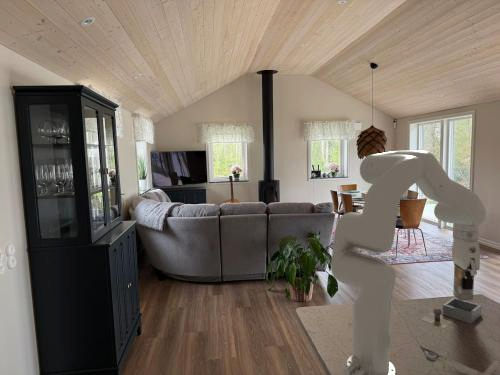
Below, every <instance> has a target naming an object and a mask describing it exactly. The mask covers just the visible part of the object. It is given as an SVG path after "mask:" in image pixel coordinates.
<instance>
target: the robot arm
mask: <svg viewBox="0 0 500 375" xmlns="http://www.w3.org/2000/svg"><path fill="white" fill-rule="evenodd" d="M359 175H360V177H361V179H362V181H365V182H366V183H367V184H372V185H370V187H369V188H368V190H367V191H366V194H365V197H364V202H363V203H364V204H363V208H362V212H354V211H350V212H349V211H348V212H346V213H345V214H343V215H342V216H341V217H340V218H339V220H337V223H336V226H335V228H334V238H333V245H332V253H331V261H330V262H331V264H330V267H331V270H330V271H331V273H332V276H333V278H334V279H335V280H336V281H338V282H340V283H342V284H345V285H347V286H349V287H352V288H354V289H357V290H358V291H359V292H360V294H359V296H358V297H357V298H356V299H355V300H354V303H353V306H352V355H351V356H349V357H348V359H346V360H347V361H346V366H345V367H344V368H343V374H344V375H396V368H395V366H394V364H393V363H392V362H391V361H390V348H391V311H392V309H391V307H392V299H393V298H392V297H393V292H394V289H395V284H396V280H397V279H396V277H397V276H396V270H395V268H394V266H393V265H391V264H390V262H388V261H386V260H385V259H382V258H379V257H376V256H373V255H369V254H365V253H361V252H359V249H362V250H364V251H367V252H368V251H369V252H372V253H373V252H374V253H377V254H383V253H387V252H389V251H390V250H391V249H392V246H393V244H394V240H395V236H396V235H395V234H396V226H397V218H398V212H399V211H398V210H399V205H400V201H401V199H402V198H403V196H404V194H405V193H406V192H407V191H408V190H409V189H410V188H411V187H412V186H413V185H416V186H417V187H418V189H419V190H420V191H421V193H422V195H423V196H424V197H425V198H427V199H429V200H432V201H433V202H436V205H435V206H434V209H433V213H434V217H435V218H436V219H437V220H439V221H441V222H443V223H448V224H452V226H453V227H452V239H453V240H452V247H451V248H452V251H451V260H452V262H453V265H458V266H459V267H461V268H462V269H463V275H464V278H462V289H464V290H472V289H473V279H474V280H475V276H476V275H478V271H479V270H480V268H481V259H480V258H481V255H480V254H481V253H480V243H479V238H480V236H479V233H480V226H481V225H483V224H484V222H485V221H486V218H487V211H486V207H485V205H484V203H483V202H482V199H481V198H480V197H479V196H478V194H477V193H476V192H475V191H473V190H471V189H470V188H468V187H466V186H464V185H462V184H460V183H459V182H458V181H455V180H452V179H451V178H450V177H449V175H448V174H447V172H446V171H445V169H444V167H443V166H442V165H441V163H440V162H439V161H438V159H437V158H436V156H435V155H434V154H433V153H431V152H430V151H428V150H414V149H413V150H411V149H410V150H393V151H392V150H391V151H388V152H382V153H374V154H373V153H372V154H369V155H367V156H366V157H364V159H362V161H361V162H360V166H359ZM467 267H470V269H467ZM467 271H470V272H468V273H467ZM473 290H474V289H473Z"/></svg>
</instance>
